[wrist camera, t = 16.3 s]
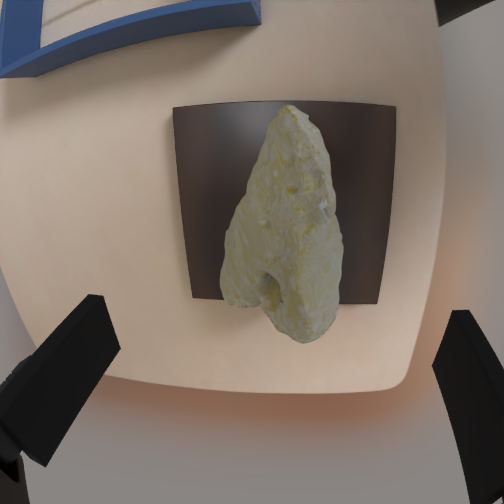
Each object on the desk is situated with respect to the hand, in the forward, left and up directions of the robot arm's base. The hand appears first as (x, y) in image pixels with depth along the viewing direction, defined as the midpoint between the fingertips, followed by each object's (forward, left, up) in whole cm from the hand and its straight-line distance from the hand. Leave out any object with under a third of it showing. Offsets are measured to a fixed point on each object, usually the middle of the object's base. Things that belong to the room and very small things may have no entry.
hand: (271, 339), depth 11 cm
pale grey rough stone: (+1, +1, -17) cm, 17 cm away
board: (0, +1, -18) cm, 18 cm away
